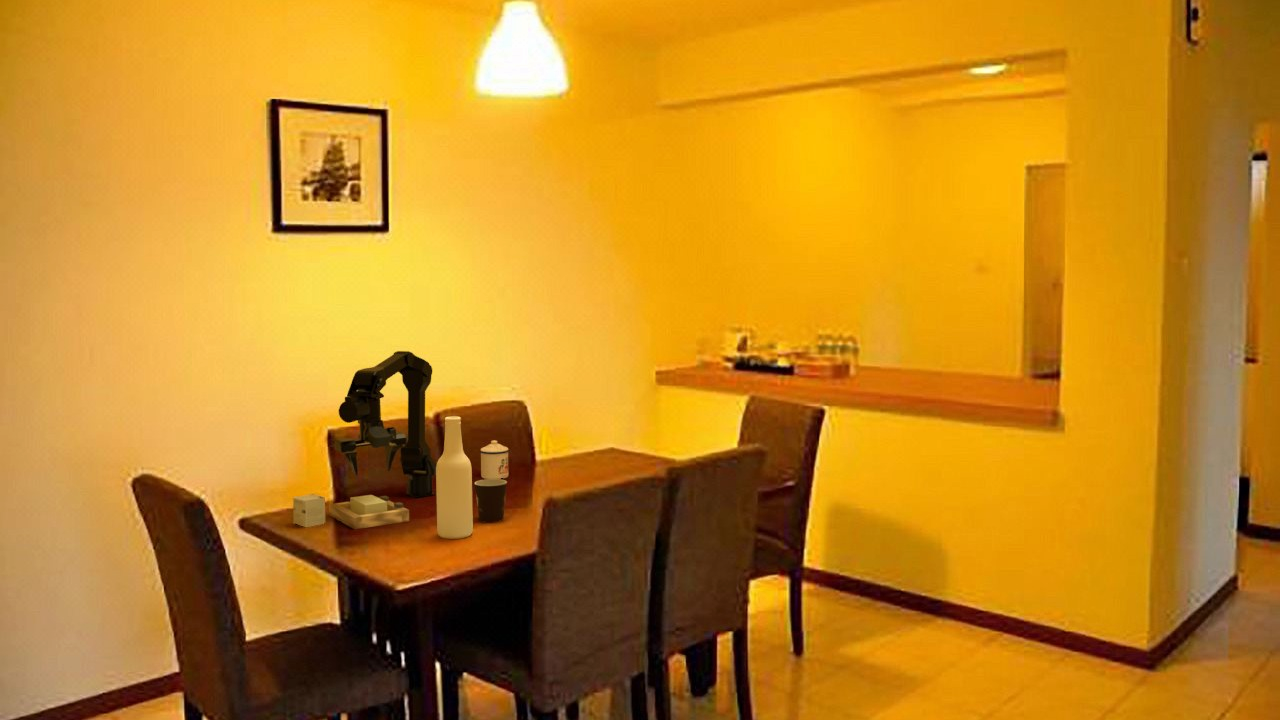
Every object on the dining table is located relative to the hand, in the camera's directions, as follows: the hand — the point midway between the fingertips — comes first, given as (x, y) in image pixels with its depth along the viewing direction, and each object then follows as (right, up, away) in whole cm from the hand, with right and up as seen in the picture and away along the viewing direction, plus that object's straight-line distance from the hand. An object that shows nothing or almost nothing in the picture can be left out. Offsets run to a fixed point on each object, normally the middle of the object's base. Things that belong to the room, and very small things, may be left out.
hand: (372, 472), depth 291 cm
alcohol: (+26, -14, -21) cm, 36 cm away
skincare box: (-14, -13, -9) cm, 21 cm away
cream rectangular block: (0, -11, -3) cm, 11 cm away
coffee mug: (+33, -12, -4) cm, 36 cm away
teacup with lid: (+27, -7, +52) cm, 58 cm away
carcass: (0, -12, -3) cm, 12 cm away
